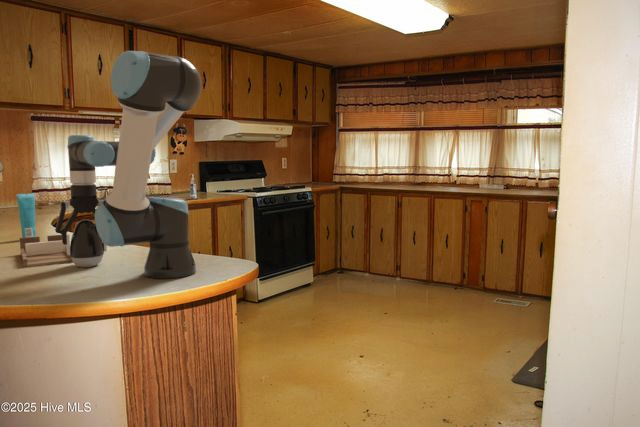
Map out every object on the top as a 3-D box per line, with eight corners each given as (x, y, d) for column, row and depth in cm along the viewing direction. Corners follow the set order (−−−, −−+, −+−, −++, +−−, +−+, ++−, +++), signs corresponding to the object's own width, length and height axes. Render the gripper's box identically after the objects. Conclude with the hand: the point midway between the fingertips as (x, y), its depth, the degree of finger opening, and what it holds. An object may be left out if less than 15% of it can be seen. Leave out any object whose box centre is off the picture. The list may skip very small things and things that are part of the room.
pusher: (65, 251, 187) (65, 240, 187) (26, 255, 181) (25, 244, 180) (63, 248, 194) (62, 237, 194) (24, 251, 188) (24, 240, 187)
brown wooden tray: (75, 262, 176) (74, 244, 175) (24, 267, 168) (22, 248, 167) (66, 250, 196) (66, 234, 195) (20, 254, 188) (19, 237, 187)
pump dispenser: (92, 269, 164) (90, 221, 162) (63, 268, 166) (60, 221, 164) (111, 262, 174) (109, 217, 172) (83, 261, 176) (81, 216, 174)
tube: (33, 237, 222) (30, 192, 220) (41, 238, 220) (38, 193, 218) (16, 240, 216) (13, 194, 213) (24, 241, 214) (20, 194, 211)
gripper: (118, 182, 176) (121, 247, 179) (42, 184, 164) (46, 254, 167) (123, 183, 170) (126, 250, 173) (44, 186, 158) (48, 258, 161)
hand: (87, 252), depth 170 cm, fingers closed on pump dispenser, 10 cm apart
